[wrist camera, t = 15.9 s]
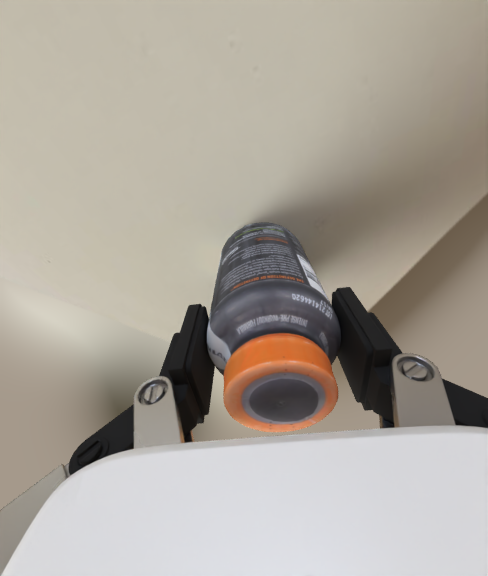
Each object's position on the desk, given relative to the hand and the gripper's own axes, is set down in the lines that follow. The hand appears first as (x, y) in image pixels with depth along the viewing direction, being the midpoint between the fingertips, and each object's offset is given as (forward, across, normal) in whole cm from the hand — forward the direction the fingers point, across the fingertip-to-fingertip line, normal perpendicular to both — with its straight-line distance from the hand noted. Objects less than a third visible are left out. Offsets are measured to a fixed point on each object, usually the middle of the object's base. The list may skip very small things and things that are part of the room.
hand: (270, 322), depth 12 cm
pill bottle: (+7, 0, 0) cm, 7 cm away
